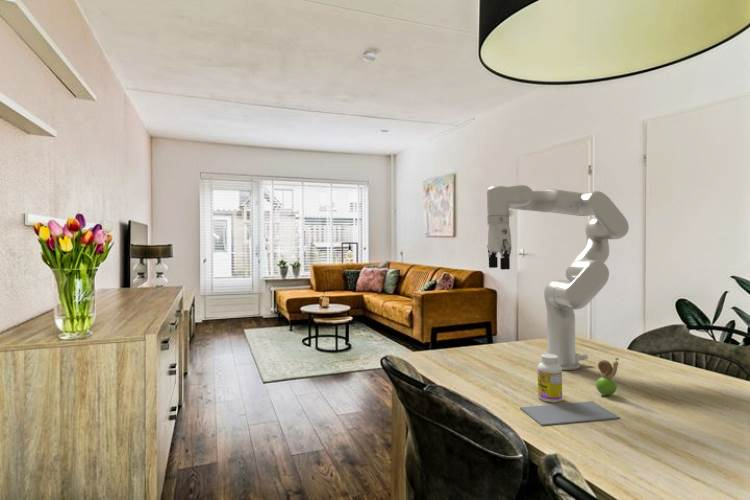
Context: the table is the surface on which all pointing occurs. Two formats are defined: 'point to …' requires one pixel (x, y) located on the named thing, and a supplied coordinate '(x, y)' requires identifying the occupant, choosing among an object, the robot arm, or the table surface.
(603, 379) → the snail figurine
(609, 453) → the table surface
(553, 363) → the supplement bottle
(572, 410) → the mat
